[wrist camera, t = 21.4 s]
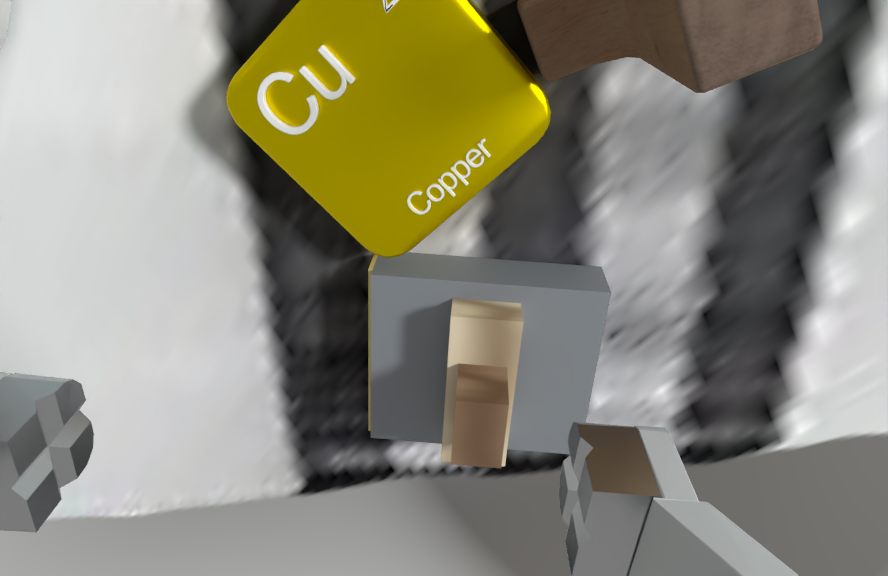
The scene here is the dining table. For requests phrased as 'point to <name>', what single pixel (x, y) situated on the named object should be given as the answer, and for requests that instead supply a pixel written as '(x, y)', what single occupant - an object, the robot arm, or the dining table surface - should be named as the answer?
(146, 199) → the dining table surface
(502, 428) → the brown box
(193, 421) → the dining table surface
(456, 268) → the dock
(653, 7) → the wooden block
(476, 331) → the tan stepped block
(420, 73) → the element tile
